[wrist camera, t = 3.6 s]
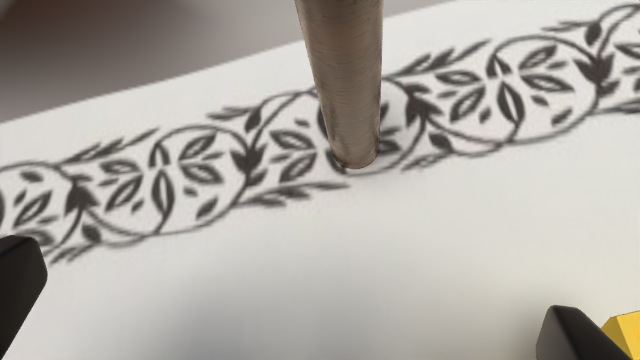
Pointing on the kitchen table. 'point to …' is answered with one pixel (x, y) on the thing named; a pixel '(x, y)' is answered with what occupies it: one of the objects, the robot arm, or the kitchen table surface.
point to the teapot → (625, 333)
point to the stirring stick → (346, 72)
